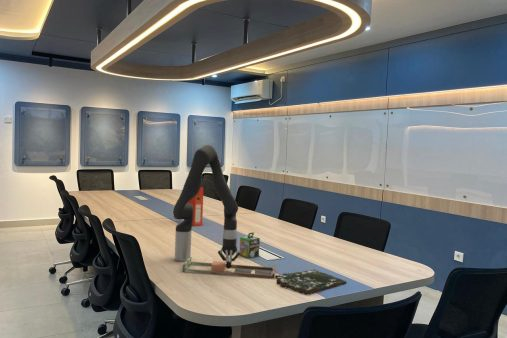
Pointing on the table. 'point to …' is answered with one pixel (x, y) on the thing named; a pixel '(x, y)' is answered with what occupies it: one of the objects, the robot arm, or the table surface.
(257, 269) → the lane
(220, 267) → the block
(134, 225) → the table surface
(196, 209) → the file binder
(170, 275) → the table surface
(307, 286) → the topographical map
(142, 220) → the table surface
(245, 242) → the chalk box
